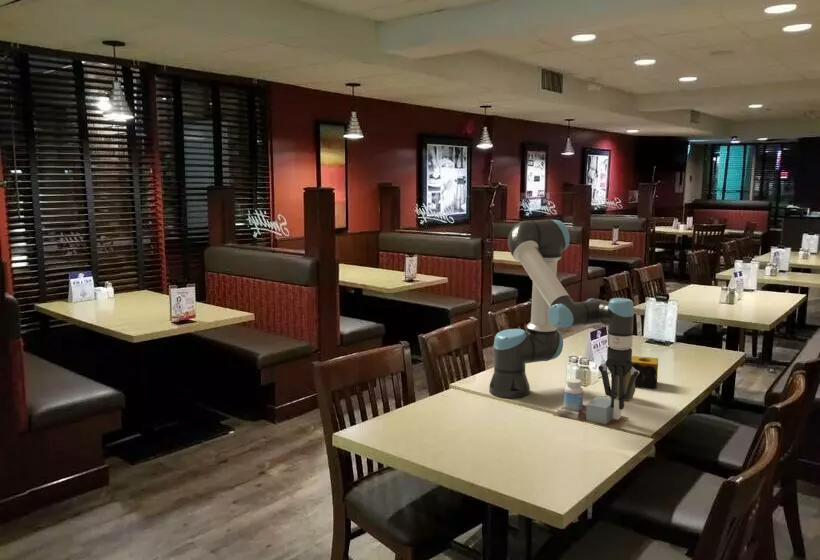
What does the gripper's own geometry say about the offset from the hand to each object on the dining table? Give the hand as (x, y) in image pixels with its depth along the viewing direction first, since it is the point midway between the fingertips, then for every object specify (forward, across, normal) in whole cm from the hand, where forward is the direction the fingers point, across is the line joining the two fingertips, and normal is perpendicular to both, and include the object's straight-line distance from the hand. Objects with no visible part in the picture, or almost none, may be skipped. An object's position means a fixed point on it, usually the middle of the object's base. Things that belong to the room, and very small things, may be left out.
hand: (617, 417), depth 211 cm
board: (+3, -9, 0) cm, 9 cm away
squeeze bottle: (+3, -7, +28) cm, 29 cm away
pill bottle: (+2, -15, 0) cm, 15 cm away
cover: (+1, -5, 0) cm, 5 cm away
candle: (+3, -6, +49) cm, 49 cm away
